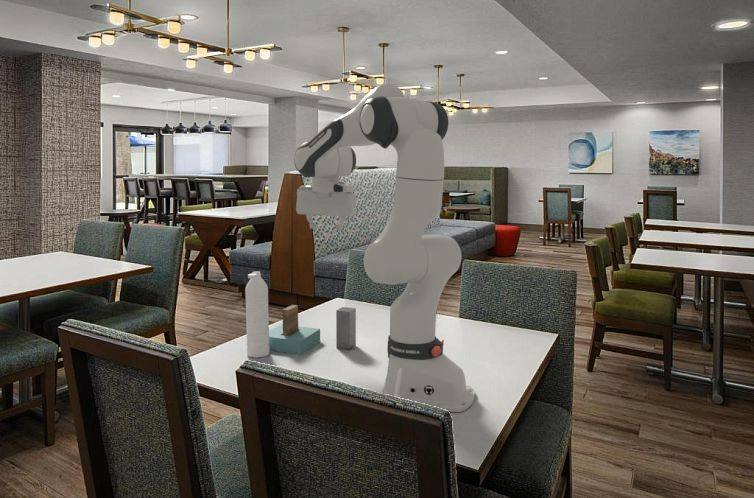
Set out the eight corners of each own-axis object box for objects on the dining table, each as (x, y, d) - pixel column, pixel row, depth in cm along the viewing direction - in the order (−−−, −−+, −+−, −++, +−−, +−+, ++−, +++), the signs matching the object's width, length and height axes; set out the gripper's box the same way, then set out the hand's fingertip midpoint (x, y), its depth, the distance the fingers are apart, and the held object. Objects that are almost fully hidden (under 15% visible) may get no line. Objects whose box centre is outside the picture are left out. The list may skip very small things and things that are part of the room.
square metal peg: (355, 345, 168) (355, 308, 166) (349, 350, 164) (349, 311, 162) (342, 343, 169) (342, 306, 167) (336, 348, 165) (336, 310, 163)
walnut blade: (298, 342, 171) (297, 305, 169) (288, 348, 165) (288, 310, 163) (293, 341, 171) (292, 304, 170) (283, 347, 166) (282, 309, 164)
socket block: (320, 341, 172) (320, 329, 171) (300, 354, 160) (300, 341, 159) (282, 335, 177) (281, 324, 176) (259, 348, 165) (259, 335, 164)
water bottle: (250, 350, 163) (247, 269, 159) (271, 350, 162) (269, 269, 159) (242, 360, 154) (239, 275, 150) (265, 361, 154) (262, 275, 150)
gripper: (292, 185, 172) (292, 228, 174) (350, 187, 165) (350, 232, 167) (301, 185, 178) (302, 226, 180) (358, 186, 171) (358, 229, 173)
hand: (326, 229), depth 173 cm, fingers open, 8 cm apart
